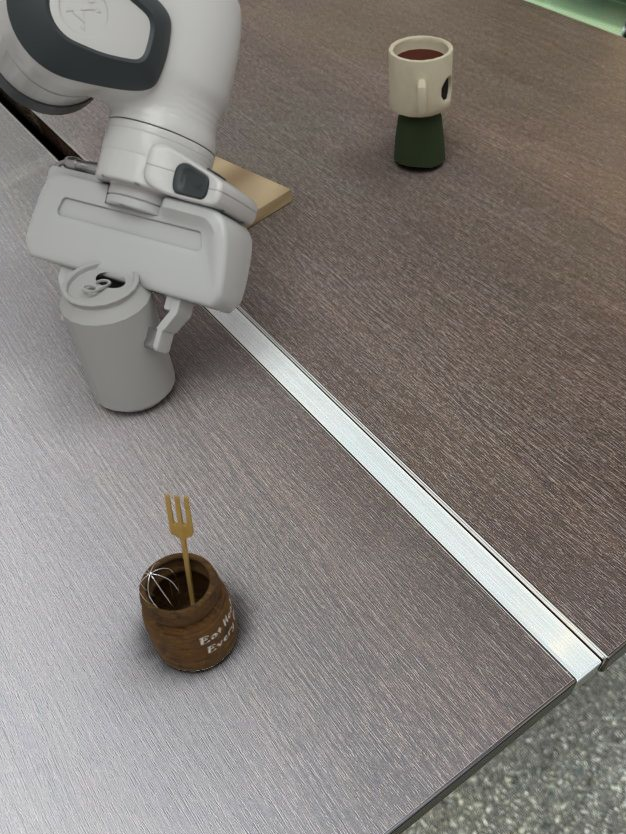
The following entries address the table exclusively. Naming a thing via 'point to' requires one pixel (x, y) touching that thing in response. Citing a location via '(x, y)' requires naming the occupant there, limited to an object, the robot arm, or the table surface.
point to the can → (115, 339)
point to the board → (254, 188)
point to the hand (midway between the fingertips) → (114, 338)
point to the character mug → (420, 97)
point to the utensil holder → (187, 604)
